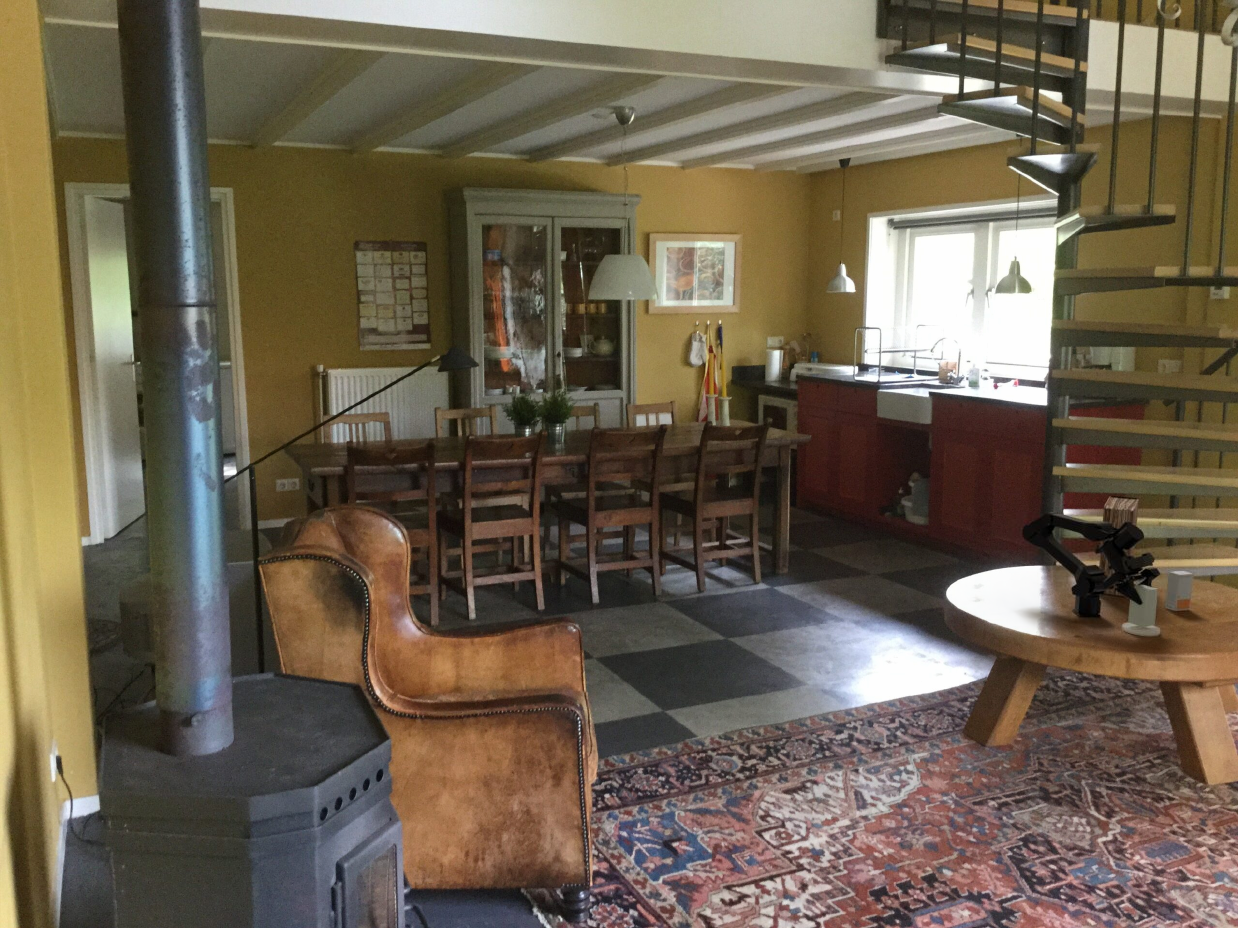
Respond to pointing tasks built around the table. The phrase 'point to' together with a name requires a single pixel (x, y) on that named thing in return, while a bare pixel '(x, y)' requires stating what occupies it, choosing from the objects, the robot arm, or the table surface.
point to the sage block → (1144, 607)
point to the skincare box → (1179, 590)
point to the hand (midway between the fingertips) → (1147, 603)
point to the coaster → (1141, 630)
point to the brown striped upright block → (1118, 526)
